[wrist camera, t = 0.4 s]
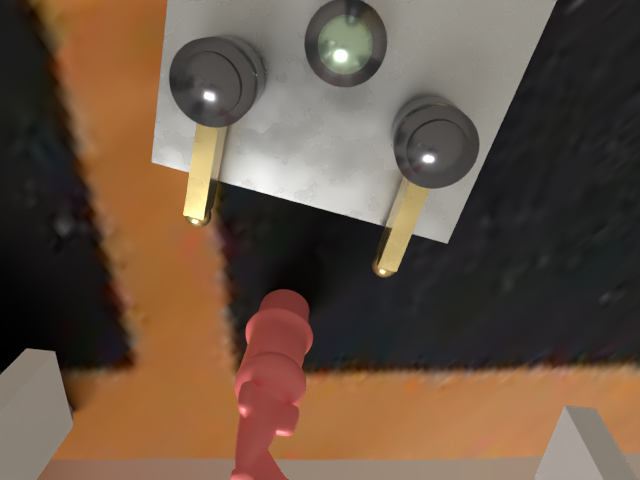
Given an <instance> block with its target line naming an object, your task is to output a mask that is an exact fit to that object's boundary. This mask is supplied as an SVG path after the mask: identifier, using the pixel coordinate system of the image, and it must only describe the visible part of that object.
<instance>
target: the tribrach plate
mask: <svg viewBox="0 0 640 480" xmlns="http://www.w3.org/2000/svg"><path fill="white" fill-rule="evenodd" d="M556 1H557V0H168V3H167V13H166V23H165V33H164V43H163V53H162V63H161V73H160V83H159V93H158V103H157V113H156V123H155V133H154V143H153V153H152V162H153V163H157V164H160V165H164V166H168V167H171V168H175V169H178V170H182V171H186V172H189V173H190V166H191V159H192V152H193V145H194V138H195V131H196V124H197V123H196V122H194V121H193V120H191V119H190V118H189V117H187V116H186V115H185V114H184V113H183V112H182V111H181V110H180V108H179V107H178V105H177V104H176V102H175V100H174V98H173V96H172V93H171V90H170V85H169V71H170V66H171V63H172V60H173V58H174V56H175V55H176V53H177V52H178V51H179V49H180V48H181V47H183V46H184V45H185V44H187V43H188V42H190V41H193V40H195V39H200V38H205V37H211V36H217V35H229V36H234V37H236V38H239V39H241V40H243V41H244V42H246V43H247V44H248V45H249V46H250V47H252V49H253V50H254V51H255V52H256V54H257V55H258V57H259V59H260V61H261V63H262V66H263V69H264V76H265V83H264V89H263V93H262V95H261V97H260V99H259V101H258V102H257V103H256V105H255V106H253V107H252V108H251V109H250V110H249V111H248V112H247V113H246V114H245V115H244V116H243V117H242V118H241V119H240V120H238V121H237V122H235V123H233V124H232V125H229V126H227V130H226V135H225V141H224V147H223V153H222V158H221V164H220V170H219V176H218V181H222V182H226V183H229V184H233V185H237V186H240V187H244V188H248V189H251V190H255V191H259V192H262V193H266V194H269V195H273V196H277V197H280V198H284V199H288V200H291V201H295V202H299V203H302V204H306V205H309V206H313V207H317V208H320V209H324V210H328V211H331V212H335V213H339V214H342V215H346V216H350V217H353V218H357V219H360V220H364V221H368V222H371V223H375V224H379V225H382V226H385V225H386V223H387V220H388V217H389V215H390V212H391V209H392V207H393V204H394V201H395V199H396V196H397V193H398V190H399V188H400V185H401V182H402V180H403V177H404V175H403V174H402V173H401V171H400V170H399V168H398V166H397V163H396V159H395V156H394V152H393V149H392V145H391V128H392V125H393V122H394V120H395V118H396V116H397V115H398V113H399V112H400V111H401V110H402V109H403V108H404V107H405V106H406V105H407V104H409V103H410V102H412V101H414V100H416V99H419V98H422V97H429V96H434V97H441V98H444V99H447V100H448V101H450V102H452V103H453V104H454V105H456V106H457V107H458V108H459V109H460V110H461V111H462V112H463V113H464V114H465V115H467V116H468V117H469V118H470V119H471V121H472V122H473V123H474V125H475V127H476V129H477V132H478V135H479V142H480V146H479V153H478V157H477V159H476V162H475V164H474V166H473V167H472V169H471V170H470V171H469V172H468V173H467V175H465V176H464V177H463V178H462V179H461V180H459V181H458V182H456V183H454V184H452V185H450V186H447V187H443V188H437V189H430V190H429V193H428V195H427V198H426V200H425V203H424V205H423V208H422V210H421V212H420V215H419V217H418V220H417V222H416V225H415V227H414V230H413V232H412V234H415V235H419V236H422V237H426V238H430V239H433V240H437V241H441V242H444V243H448V241H449V239H450V236H451V234H452V232H453V230H454V227H455V225H456V223H457V221H458V219H459V216H460V214H461V212H462V210H463V207H464V205H465V203H466V201H467V199H468V196H469V194H470V192H471V190H472V187H473V185H474V183H475V181H476V179H477V176H478V174H479V172H480V170H481V167H482V165H483V163H484V161H485V159H486V156H487V154H488V152H489V150H490V147H491V145H492V143H493V141H494V139H495V136H496V134H497V132H498V130H499V128H500V125H501V123H502V121H503V119H504V116H505V114H506V112H507V110H508V108H509V105H510V103H511V101H512V99H513V96H514V94H515V92H516V90H517V88H518V85H519V83H520V81H521V79H522V76H523V74H524V72H525V70H526V68H527V65H528V63H529V61H530V59H531V56H532V54H533V52H534V50H535V48H536V45H537V43H538V41H539V39H540V36H541V34H542V32H543V30H544V28H545V25H546V23H547V21H548V19H549V16H550V14H551V12H552V10H553V8H554V5H555V3H556Z"/></svg>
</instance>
